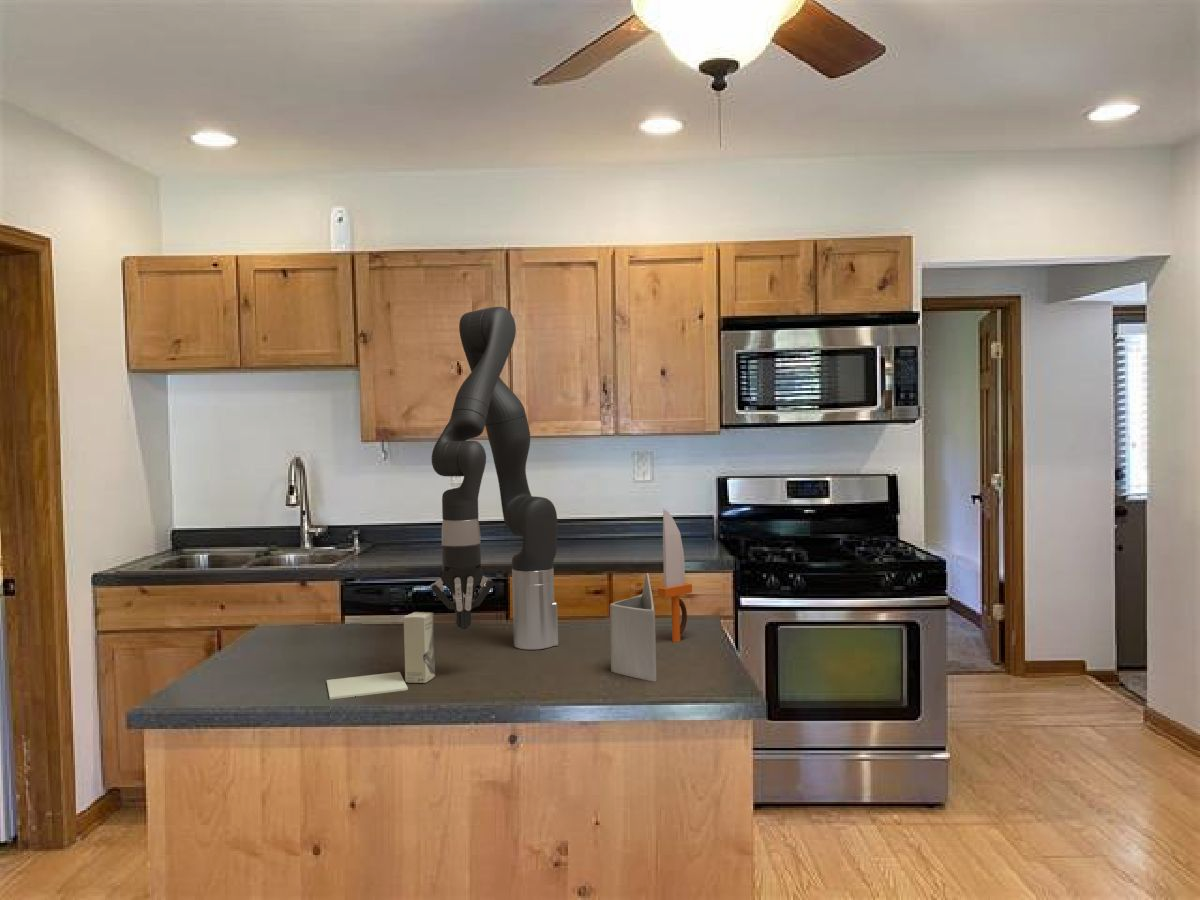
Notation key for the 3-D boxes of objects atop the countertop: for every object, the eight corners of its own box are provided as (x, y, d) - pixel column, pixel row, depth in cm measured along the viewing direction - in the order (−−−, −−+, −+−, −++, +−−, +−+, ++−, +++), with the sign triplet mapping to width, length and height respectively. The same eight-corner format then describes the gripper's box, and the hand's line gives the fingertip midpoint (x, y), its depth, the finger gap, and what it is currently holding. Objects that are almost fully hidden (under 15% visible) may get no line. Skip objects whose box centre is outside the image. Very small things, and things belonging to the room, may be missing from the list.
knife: (666, 645, 196) (663, 509, 195) (658, 643, 198) (655, 508, 197) (693, 639, 201) (690, 506, 200) (685, 637, 203) (682, 505, 202)
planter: (607, 660, 185) (605, 567, 184) (645, 659, 185) (644, 566, 185) (614, 683, 168) (612, 581, 168) (656, 681, 169) (654, 580, 168)
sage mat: (399, 673, 178) (399, 671, 178) (407, 690, 167) (407, 688, 167) (326, 682, 174) (326, 680, 174) (329, 699, 162) (329, 697, 162)
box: (425, 684, 171) (423, 617, 170) (404, 683, 172) (402, 616, 171) (436, 676, 176) (434, 611, 176) (415, 675, 177) (413, 611, 176)
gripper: (489, 537, 182) (491, 622, 182) (424, 541, 177) (426, 628, 178) (498, 541, 175) (500, 629, 175) (430, 546, 170) (432, 636, 171)
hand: (463, 629), depth 176 cm, fingers closed
